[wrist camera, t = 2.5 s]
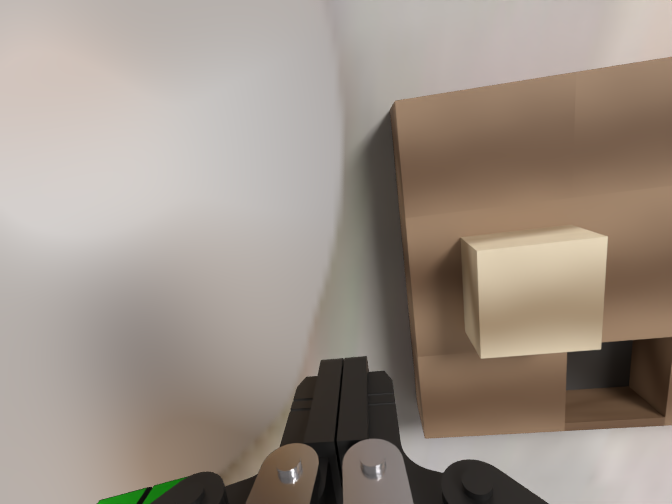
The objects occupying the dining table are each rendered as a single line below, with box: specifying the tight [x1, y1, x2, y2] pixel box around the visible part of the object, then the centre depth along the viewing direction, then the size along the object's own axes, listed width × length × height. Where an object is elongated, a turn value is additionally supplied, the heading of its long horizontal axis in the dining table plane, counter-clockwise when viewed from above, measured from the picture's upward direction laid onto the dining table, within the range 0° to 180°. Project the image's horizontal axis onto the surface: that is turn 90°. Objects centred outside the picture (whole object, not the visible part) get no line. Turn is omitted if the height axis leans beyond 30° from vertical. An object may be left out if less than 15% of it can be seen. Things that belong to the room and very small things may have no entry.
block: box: [460, 225, 608, 359], centre depth 16 cm, size 5×5×2 cm
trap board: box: [390, 57, 672, 438], centre depth 18 cm, size 18×25×3 cm
